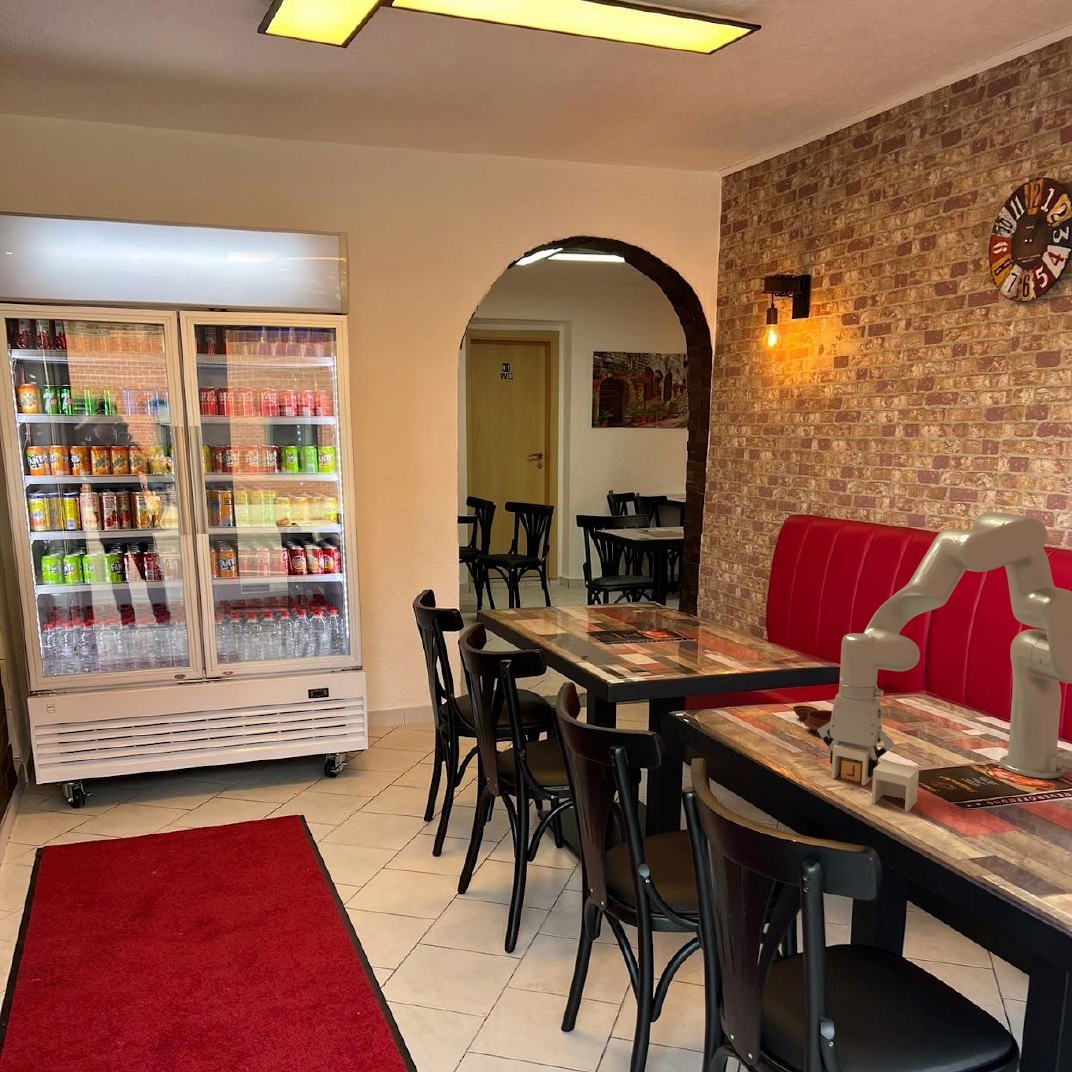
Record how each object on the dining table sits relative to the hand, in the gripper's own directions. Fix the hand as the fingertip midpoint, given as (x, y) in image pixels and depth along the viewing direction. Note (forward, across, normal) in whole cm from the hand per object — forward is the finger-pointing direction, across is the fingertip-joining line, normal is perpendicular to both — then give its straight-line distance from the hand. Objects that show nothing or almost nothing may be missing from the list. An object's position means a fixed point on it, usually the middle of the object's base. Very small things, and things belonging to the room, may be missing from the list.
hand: (853, 771), depth 194 cm
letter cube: (+1, 0, 0) cm, 1 cm away
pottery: (+2, +18, -31) cm, 36 cm away
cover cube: (+1, 0, 0) cm, 1 cm away
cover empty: (+1, -11, +9) cm, 14 cm away
